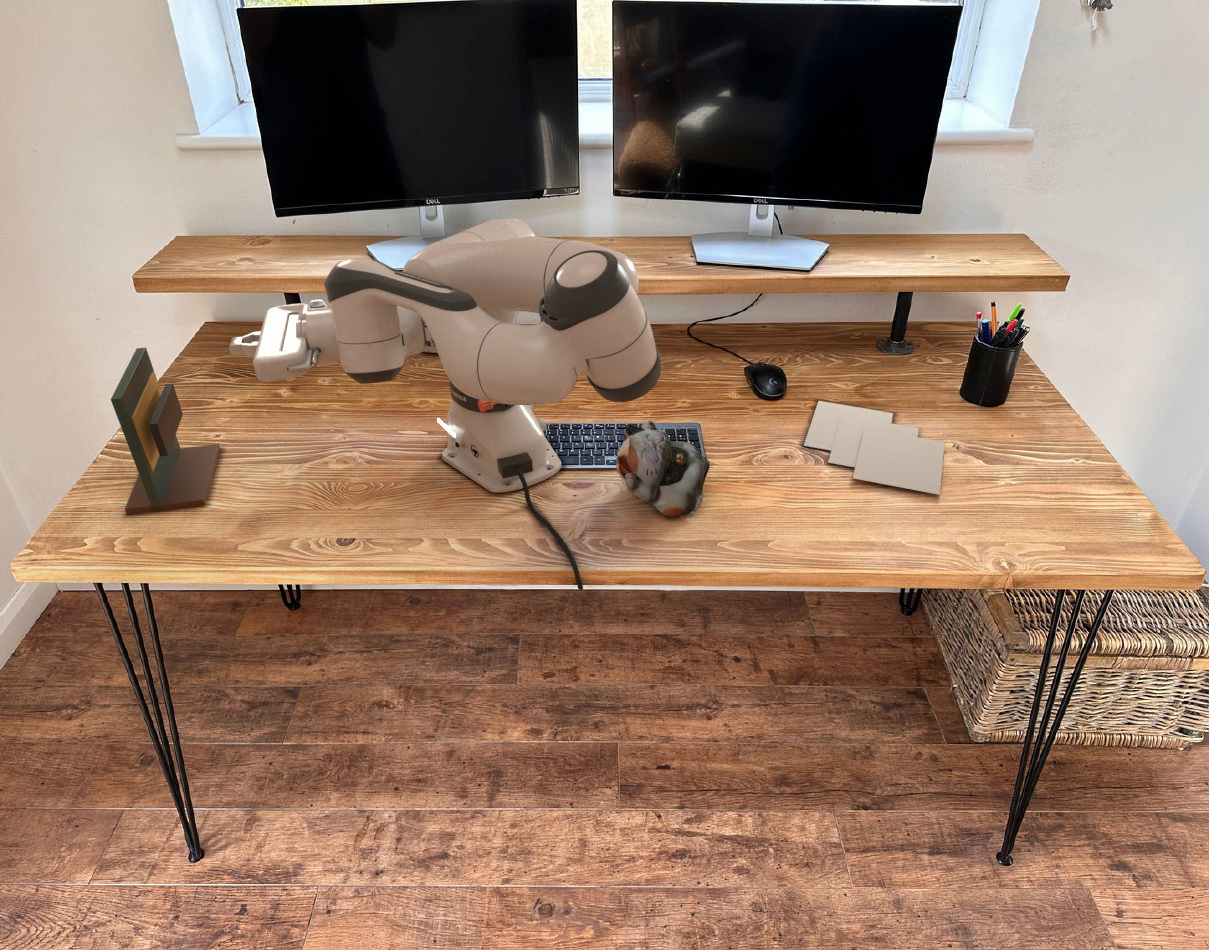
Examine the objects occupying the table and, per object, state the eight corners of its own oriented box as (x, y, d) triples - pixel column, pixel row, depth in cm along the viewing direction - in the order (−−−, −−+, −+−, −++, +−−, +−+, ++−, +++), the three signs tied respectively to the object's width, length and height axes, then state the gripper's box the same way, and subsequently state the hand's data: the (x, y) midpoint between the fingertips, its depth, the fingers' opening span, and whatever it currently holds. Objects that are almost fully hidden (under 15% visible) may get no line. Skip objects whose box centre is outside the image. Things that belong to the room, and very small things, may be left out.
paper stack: (795, 470, 150) (795, 467, 150) (818, 400, 170) (818, 397, 169) (938, 497, 144) (939, 494, 143) (946, 422, 163) (946, 418, 162)
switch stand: (220, 449, 158) (187, 343, 146) (205, 505, 144) (167, 393, 132) (149, 457, 156) (110, 350, 144) (126, 515, 142) (81, 402, 130)
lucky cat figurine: (694, 527, 138) (654, 468, 130) (631, 530, 145) (589, 474, 137) (721, 456, 146) (684, 397, 138) (660, 462, 154) (622, 406, 146)
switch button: (183, 414, 150) (172, 383, 147) (168, 455, 140) (156, 423, 136) (175, 415, 150) (165, 384, 147) (160, 456, 140) (148, 424, 136)
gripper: (321, 386, 134) (226, 396, 132) (328, 329, 151) (244, 337, 148) (313, 349, 131) (215, 359, 128) (321, 294, 147) (234, 302, 145)
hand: (231, 346), depth 139 cm, fingers closed
